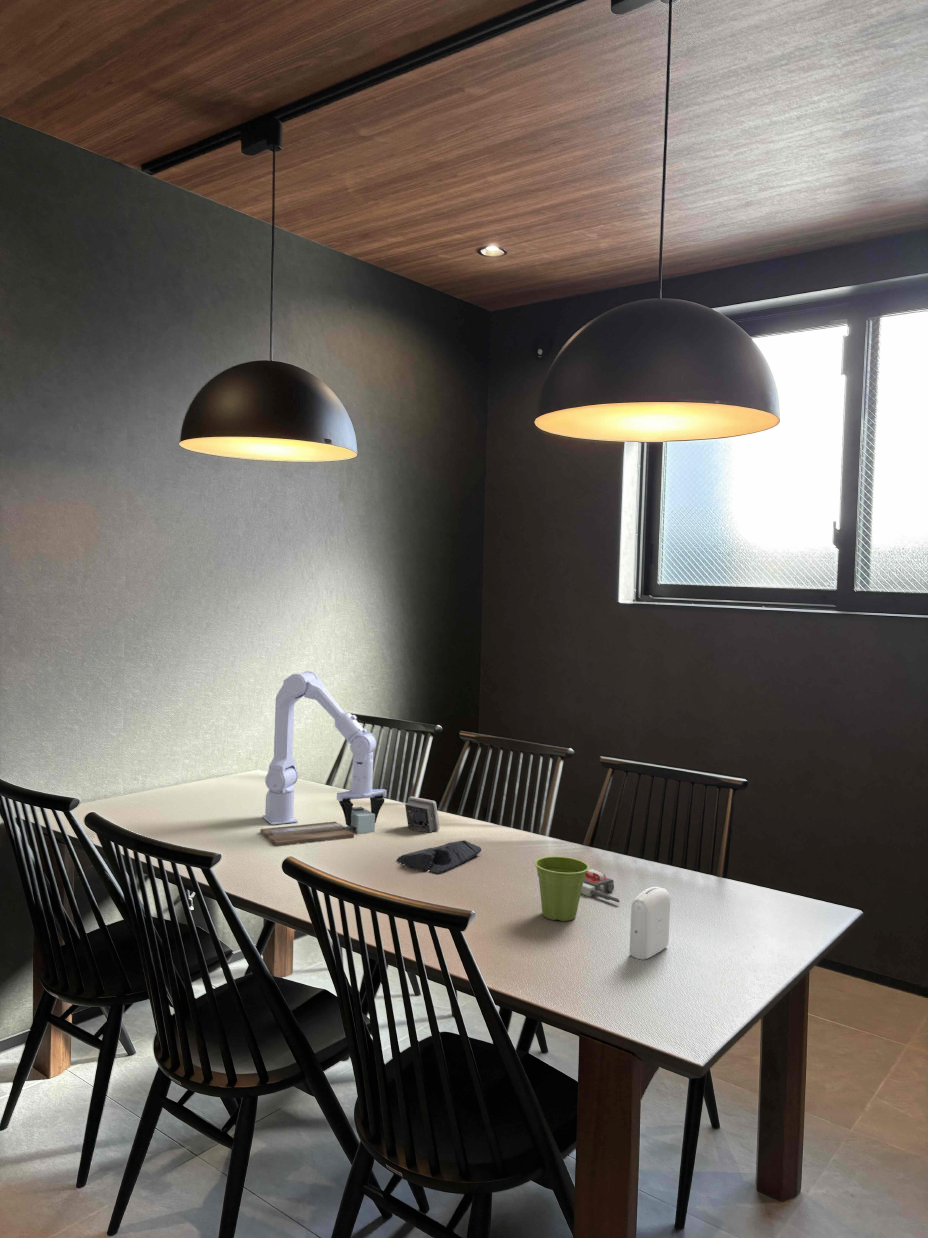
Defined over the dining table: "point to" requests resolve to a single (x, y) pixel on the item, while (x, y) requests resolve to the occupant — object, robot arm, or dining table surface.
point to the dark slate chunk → (440, 857)
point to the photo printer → (649, 923)
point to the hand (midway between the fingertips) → (360, 823)
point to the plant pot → (560, 885)
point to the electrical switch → (422, 814)
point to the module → (362, 820)
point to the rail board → (306, 833)
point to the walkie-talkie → (598, 885)
